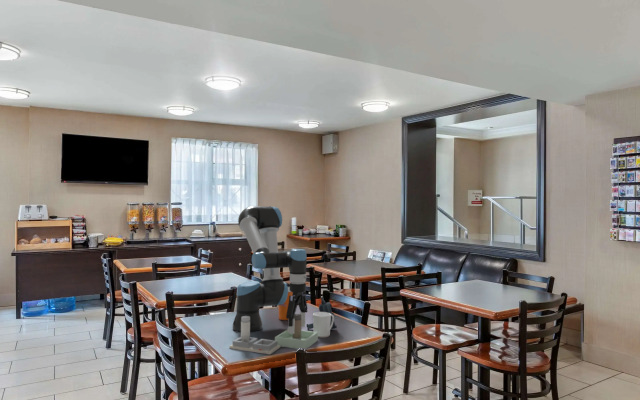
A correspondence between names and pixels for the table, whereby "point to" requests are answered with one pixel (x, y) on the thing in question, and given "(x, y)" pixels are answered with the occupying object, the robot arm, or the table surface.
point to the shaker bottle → (284, 305)
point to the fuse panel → (256, 345)
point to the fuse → (245, 328)
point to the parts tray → (305, 342)
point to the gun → (324, 308)
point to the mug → (322, 323)
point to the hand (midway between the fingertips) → (296, 329)
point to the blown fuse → (297, 327)
